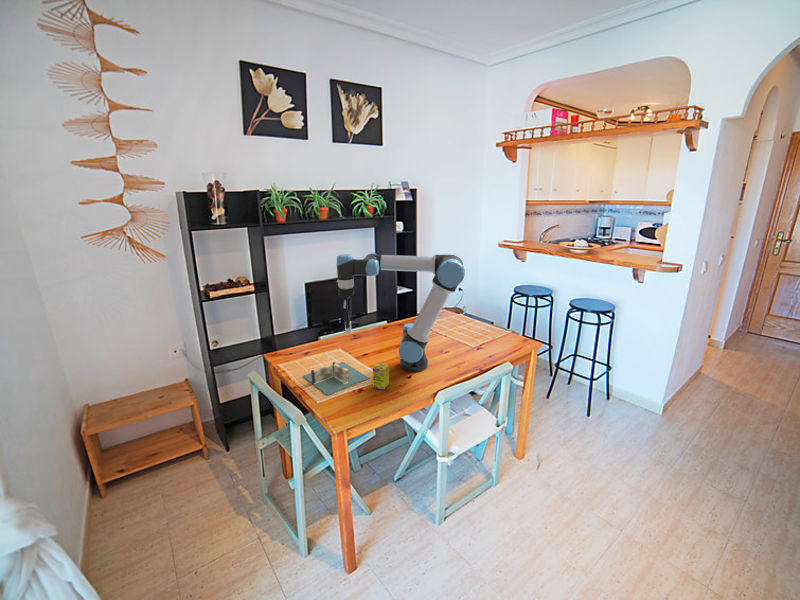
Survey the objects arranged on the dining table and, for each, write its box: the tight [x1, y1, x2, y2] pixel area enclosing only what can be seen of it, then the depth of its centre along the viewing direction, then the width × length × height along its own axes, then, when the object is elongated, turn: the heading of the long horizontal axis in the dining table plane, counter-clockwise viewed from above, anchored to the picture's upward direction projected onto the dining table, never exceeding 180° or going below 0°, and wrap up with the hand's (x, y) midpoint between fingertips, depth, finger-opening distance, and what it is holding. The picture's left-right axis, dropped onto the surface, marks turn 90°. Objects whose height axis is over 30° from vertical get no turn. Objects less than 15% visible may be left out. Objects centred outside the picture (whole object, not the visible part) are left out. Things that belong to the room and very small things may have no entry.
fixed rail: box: [310, 364, 333, 385], centre depth 184 cm, size 11×2×7 cm, turn 131°
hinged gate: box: [332, 361, 350, 382], centre depth 185 cm, size 11×2×7 cm, turn 49°
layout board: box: [302, 361, 370, 396], centre depth 188 cm, size 24×24×1 cm
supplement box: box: [372, 362, 390, 392], centre depth 178 cm, size 6×6×11 cm
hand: (348, 333), depth 185 cm, fingers closed
